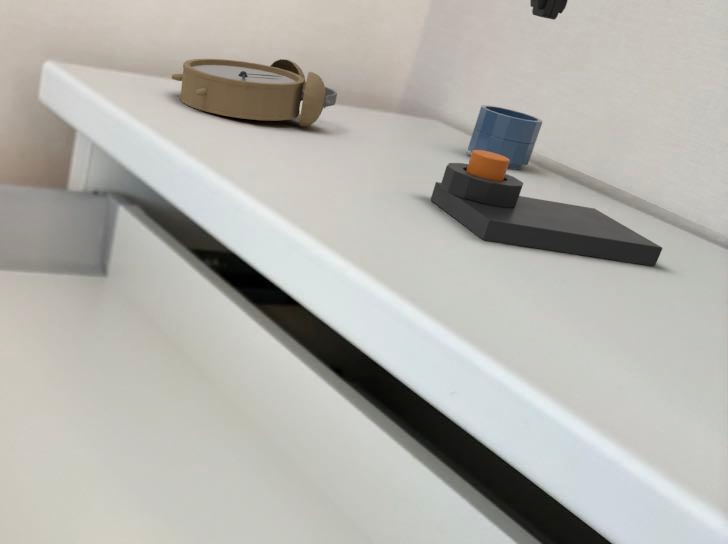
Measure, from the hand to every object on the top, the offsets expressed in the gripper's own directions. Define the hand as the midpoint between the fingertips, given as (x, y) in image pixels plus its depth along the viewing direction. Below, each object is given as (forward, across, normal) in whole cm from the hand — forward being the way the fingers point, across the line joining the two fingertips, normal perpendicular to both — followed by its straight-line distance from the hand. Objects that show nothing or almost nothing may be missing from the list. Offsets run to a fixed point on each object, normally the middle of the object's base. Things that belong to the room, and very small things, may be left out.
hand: (543, 16), depth 99 cm
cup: (+13, 0, +1) cm, 13 cm away
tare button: (+10, -13, -23) cm, 29 cm away
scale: (+13, -9, -26) cm, 30 cm away
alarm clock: (+13, -24, +4) cm, 27 cm away
